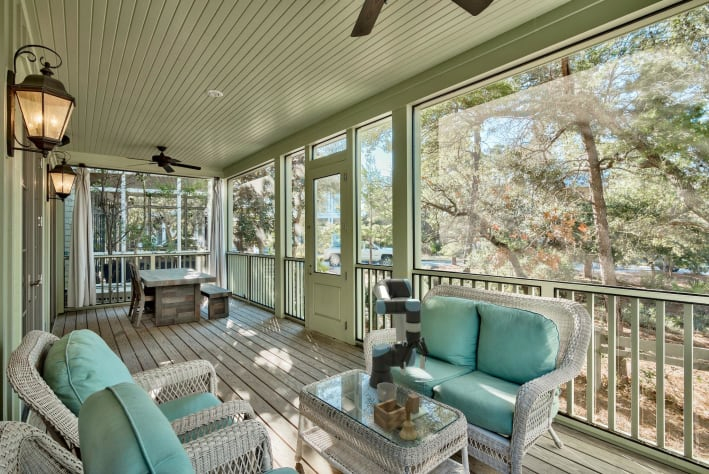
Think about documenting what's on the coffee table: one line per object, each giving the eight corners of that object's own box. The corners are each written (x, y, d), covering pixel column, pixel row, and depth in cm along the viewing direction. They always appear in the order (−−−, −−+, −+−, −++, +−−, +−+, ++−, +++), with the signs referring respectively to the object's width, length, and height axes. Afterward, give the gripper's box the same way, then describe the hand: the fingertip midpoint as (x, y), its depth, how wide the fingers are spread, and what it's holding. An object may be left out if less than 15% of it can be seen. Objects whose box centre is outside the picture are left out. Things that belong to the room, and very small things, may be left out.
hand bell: (411, 442, 150) (411, 406, 150) (395, 435, 155) (395, 400, 155) (421, 434, 156) (421, 399, 156) (405, 427, 162) (405, 394, 161)
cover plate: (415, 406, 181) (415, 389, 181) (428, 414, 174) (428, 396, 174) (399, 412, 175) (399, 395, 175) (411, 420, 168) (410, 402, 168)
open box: (395, 412, 175) (395, 397, 175) (410, 422, 166) (410, 406, 166) (373, 421, 167) (373, 405, 167) (388, 431, 158) (388, 415, 158)
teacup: (381, 394, 195) (381, 380, 195) (399, 398, 190) (399, 384, 190) (371, 405, 183) (371, 390, 183) (390, 410, 178) (390, 394, 178)
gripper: (425, 324, 184) (425, 363, 185) (389, 332, 170) (389, 374, 171) (435, 327, 178) (435, 368, 178) (399, 336, 164) (399, 380, 164)
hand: (413, 371), depth 174 cm, fingers open, 13 cm apart
